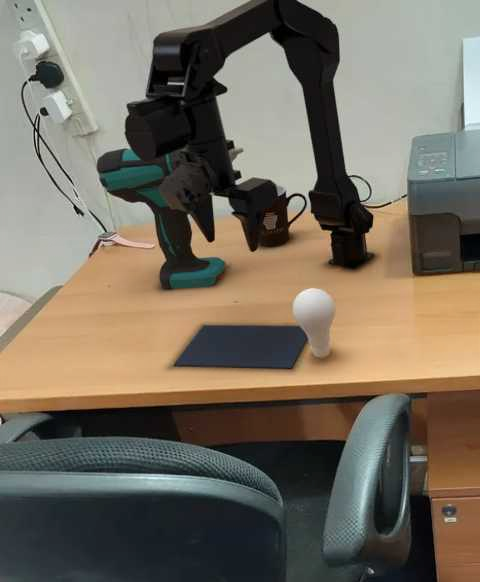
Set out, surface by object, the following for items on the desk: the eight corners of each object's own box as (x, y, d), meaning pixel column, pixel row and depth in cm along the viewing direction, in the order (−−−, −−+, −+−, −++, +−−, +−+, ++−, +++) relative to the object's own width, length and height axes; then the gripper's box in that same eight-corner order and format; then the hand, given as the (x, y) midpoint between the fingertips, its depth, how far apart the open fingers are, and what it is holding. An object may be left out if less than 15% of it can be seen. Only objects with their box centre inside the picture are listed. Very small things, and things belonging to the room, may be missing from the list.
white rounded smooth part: (306, 372, 97) (293, 305, 90) (298, 351, 102) (285, 286, 95) (346, 362, 98) (336, 294, 91) (337, 342, 102) (326, 277, 96)
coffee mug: (247, 249, 135) (235, 200, 129) (263, 232, 142) (253, 185, 135) (299, 250, 132) (290, 200, 126) (314, 232, 138) (306, 184, 132)
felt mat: (313, 327, 107) (313, 326, 107) (292, 369, 98) (291, 367, 98) (203, 326, 112) (203, 325, 112) (173, 366, 103) (173, 364, 103)
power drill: (274, 262, 129) (245, 125, 113) (264, 283, 122) (232, 140, 106) (148, 271, 133) (103, 140, 117) (132, 292, 126) (82, 155, 110)
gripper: (115, 151, 91) (152, 258, 100) (207, 163, 81) (238, 280, 91) (176, 127, 97) (205, 229, 107) (269, 135, 87) (291, 247, 97)
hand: (232, 246), depth 100 cm, fingers open, 9 cm apart
